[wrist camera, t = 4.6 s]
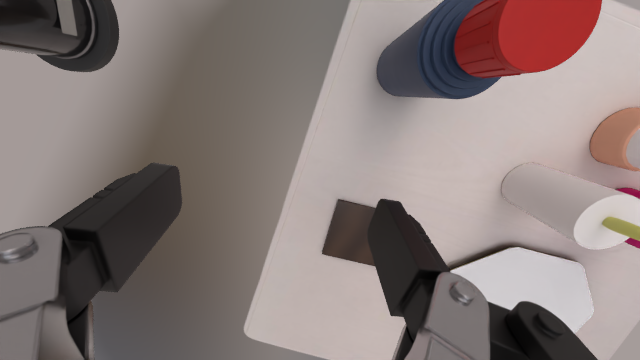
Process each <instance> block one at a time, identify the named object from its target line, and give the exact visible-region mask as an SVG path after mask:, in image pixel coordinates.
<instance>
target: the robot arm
mask: <svg viewBox="0 0 640 360" xmlns="http://www.w3.org/2000/svg"><path fill="white" fill-rule="evenodd" d="M97 37H98V19H97V14H96V11H95V8H94V5H93V3H92V1H91V0H0V49H2V50H10V51H17V52H25V53H31V54H39V55H46V56H53V57H57V58H62V59H78V58H82V57H84V56H86V55H87V54H88V53H89V52H90V51H91V50H92V49H93V47H94V46H95V43H96V41H97ZM181 206H182V196H181V185H180V175H179V170H178V168H177V167H176V166H172V165H165V164H159V163H151V164H149V165H148V166H147V167H145V168H144V169H142V170H141V171H139V172H138V173H137V174H135V173H134V174H131V175H128V176H125V177H123V178H120V179H117V180H116V181H114V182H113V183H111V184H110V185H108V186H107V187H105V188H104V190H101V191H99V192H98V193H96V194H95V195H94V196H93V198H89V199H87V200H86V201H85V202H83V203H82V204H80V205H79V206H77V207H76V208H74V209H73V210H71V211H70V212H68V213H67V214H65V215H64V216H62V217H61V218H60V219H58V220H56V221H55V222H53V223H52V224H51V225H49V226H48V227H45V226H37V227H36V226H35V227H26V228H20V229H16V230H12V231H9V232H5V233H2V234H0V360H95V359H94V329H93V305H92V302H91V300H92V298H93V297H94V296H95V295H96V294H97V293H98V292H99V291H108V292H118V291H119V290H120V289H121V287H122V286H123V285H124V283H125V282H126V281H127V280H128V278H129V277H130V276H131V275H132V273H133V272H134V271H135V270H136V268H137V267H138V266H139V265H140V263H141V262H142V261H143V259H144V258H145V256H147V254H148V253H149V252H150V251H151V249H152V248H153V247H154V245H155V244H156V243H157V242H158V240H159V239H160V238H161V237H162V235H163V234H164V233H165V231H166V230H167V229H168V228H169V226H170V225H171V224H172V223H173V221H174V220H175V219H176V217H177V216H178V214H179V212H180V209H181ZM367 240H368V244H369V247H370V250H371V254H372V257H373V260H374V263H375V266H376V270H377V273H378V276H379V279H380V283H381V286H382V289H383V292H384V296H385V299H386V302H387V305H388V308H389V312H390V315H391V316H399V317H404V319H405V322H406V324H405V326H404V327H403V329H402V332H401V335H400V338H399V340H398V343H397V346H396V349H395V352H394V355H393V358H392V360H598V359H597V358H596V357H595V356H594V355H593V354H592V353H591V352H590V351H589V349H588V348H587V347H586V346H585V345H584V344H583V343H582V342H581V340H580V339H579V338H578V337H577V336H576V335H575V334H574V333H573V332H572V330H571V329H570V328H569V327H568V326H567V325H566V324H565V323H564V322H563V321H562V320H561V319H559V318H558V317H557V316H556V315H554V314H553V313H551V312H550V311H548V310H547V309H545V308H543V307H542V306H540V305H538V304H535V303H533V302H529V301H521V302H519V303H518V304H517V305H516V306H515V307H514V308H513V309H512V310H509V309H507V308H504V307H501V306H499V305H496V304H493V303H491V302H488V301H487V300H486V298H485V296H484V295H483V294H482V292H481V291H480V290H479V289H478V288H477V287H476V286H475V285H474V284H473V283H471V282H470V281H469V280H467V279H465V278H464V277H462V276H460V275H457V274H455V273H451V272H450V270H449V268H448V267H447V265H446V264H445V262H444V261H443V259H442V258H441V256H440V254H439V253H438V251H437V250H436V248H435V247H434V245H433V244H432V243H431V240H430V239H429V237H428V236H427V235H426V233H425V231H424V229H423V228H422V226H421V225H420V223H419V222H417V221H416V220H415V219H414V218H413V217H412V216H411V215H408V214H407V212H406V211H405V209H404V207H403V206H402V204H401V203H400V202H399V201H394V200H387V199H380V200H379V202H378V204H377V207H376V209H375V211H374V214H373V216H372V219H371V221H370V224H369V227H368V231H367Z"/></svg>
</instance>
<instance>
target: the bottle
mask: <svg viewBox="0 0 640 360" xmlns="http://www.w3.org/2000/svg"><path fill="white" fill-rule="evenodd" d="M482 1H484V0H444V1H443V2H442V3H440V4H439V5H438V6H437V7H435V8H434V9H433V10H432V11H430V12H429V13H428V14H427V15H425V16H424V17H423V18H422V19H421V20H419V21H418V22H417V23H416V24H414V25H413V26H412V27H411V28H409V29H408V30H407V31H406V32H404V33H403V34H402V35H401V36H400V37H398V38H397V39H396V40H395V41H393V42H392V43H391V44H390V45H389V46H387V47H386V49H385V50H384V51H383V53H382V54H381V56H380V58H379V61H378V65H377V77H378V81H379V83H380V85H381V87H382V88H383V89H384V90H385V91H386V92H388V93H389V94H391V95H394V96H405V97H426V98H446V99H463V98H468V97H472V96H475V95H477V94H479V93H481V92H483V91H485V90H486V89H488V88H489V87H490V86H492V85H493V84H494V83H495V82H497V81H498V80H499V79H500V78H501V77H492V78H482V77H475V76H472V75H469V74H468V73H466V72H465V71H464V70H463V69H462V68H461V67H460V65H459V64H458V62H457V59H456V56H455V38H456V34H457V31H458V29H459V27H460V24H461V23H462V21H463V19H464V18H465V17H466V15H467V14H468V13H469V12H470V11H471V10H472V9H473V8H474V6H475V5H477V4H479V3H480V2H482Z"/></svg>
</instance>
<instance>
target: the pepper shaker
mask: <svg viewBox="0 0 640 360" xmlns="http://www.w3.org/2000/svg"><path fill="white" fill-rule="evenodd" d="M590 151H591V153H592V156H593V157H594V158H595V159H596V160H597V161H599V162H602V163H605V164H609V165H613V166H617V167H621V168H624V169H628V170H632V171H640V108H627V109H624V110H621V111H618V112H616V113H615V114H613V115H611V116H609V117H608V118H607V119H606V120H605V121H603V122H602V123H601V124H600V125H599V127H598V128H597V129H596V131H595V132H594V134H593V137H592V139H591V142H590Z"/></svg>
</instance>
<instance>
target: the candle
mask: <svg viewBox="0 0 640 360" xmlns="http://www.w3.org/2000/svg"><path fill="white" fill-rule="evenodd" d="M501 191H502V195H503V197H504V198H505V199H506V200H507V201H508V202H510V203H512V204H513V205H515V206H516V207H518V208H520V209H521V210H523V211H525V212H526V213H528V214H530V215H531V216H533V217H535V218H536V219H538V220H539V221H541V222H543V223H544V224H546V225H548V226H549V227H551V228H553V229H554V230H556V231H557V232H559V233H561V234H562V235H564V236H566V237H567V238H569V239H571V240H572V241H574V242H576V243H577V244H579V245H581V246H583V247H585V248H587V249H593V250H598V249H606V248H610V247H613V246H616V245H618V244H621V243H622V242H624V241H626V240H627V239H629V238H633V239H635V240H638V241H640V199H638V198H636V197H634V196H632V195H629V194H626V193H623V192H620V191H617V190H614V189H611V188H608V187H606V186H603V185H600V184H597V183H594V182H591V181H588V180H585V179H582V178H579V177H576V176H573V175H570V174H567V173H564V172H561V171H558V170H555V169H553V168H550V167H547V166H544V165H541V164H537V163H526V164H523V165H520V166H518V167H516V168H514V169H513V170H512V171H510V172H509V173H508V175H507V176H506V177H505V179H504V181H503V183H502V187H501Z"/></svg>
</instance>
